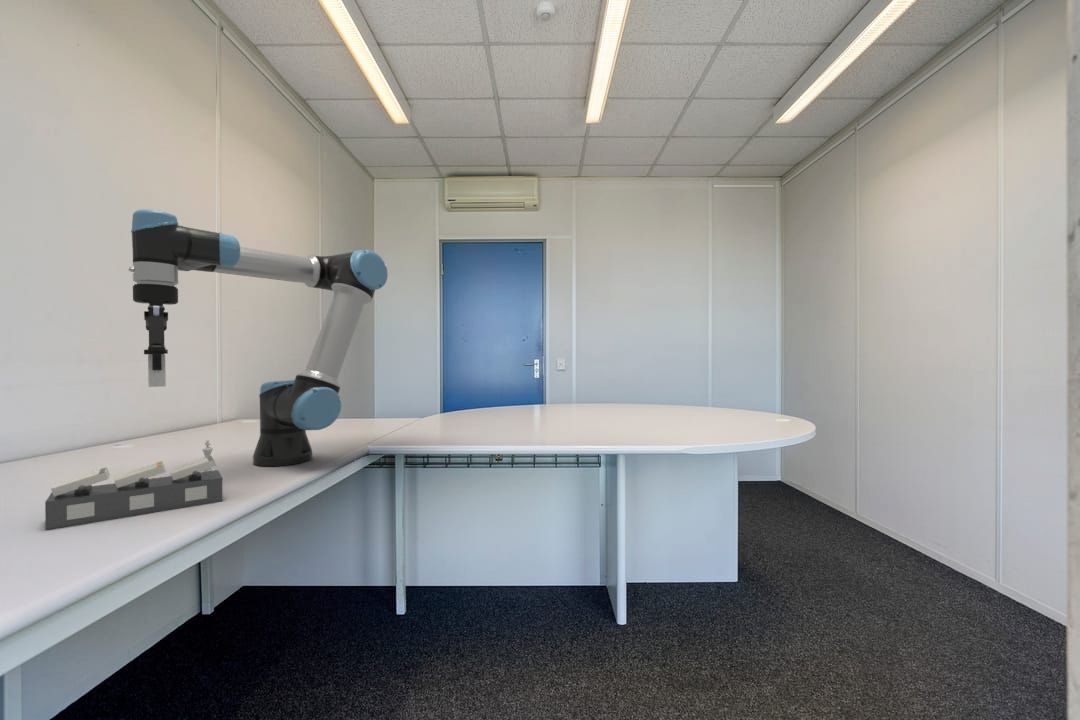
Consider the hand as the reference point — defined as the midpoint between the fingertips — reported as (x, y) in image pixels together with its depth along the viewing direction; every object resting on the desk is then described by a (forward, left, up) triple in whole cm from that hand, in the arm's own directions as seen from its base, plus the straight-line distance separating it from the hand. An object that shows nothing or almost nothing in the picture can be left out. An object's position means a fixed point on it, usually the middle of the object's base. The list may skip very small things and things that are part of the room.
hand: (157, 384), depth 101 cm
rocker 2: (+3, +7, -18) cm, 20 cm away
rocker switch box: (+3, +7, -24) cm, 26 cm away
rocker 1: (+11, +7, -18) cm, 22 cm away
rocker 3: (-6, +7, -18) cm, 20 cm away
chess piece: (-9, -9, -25) cm, 28 cm away
